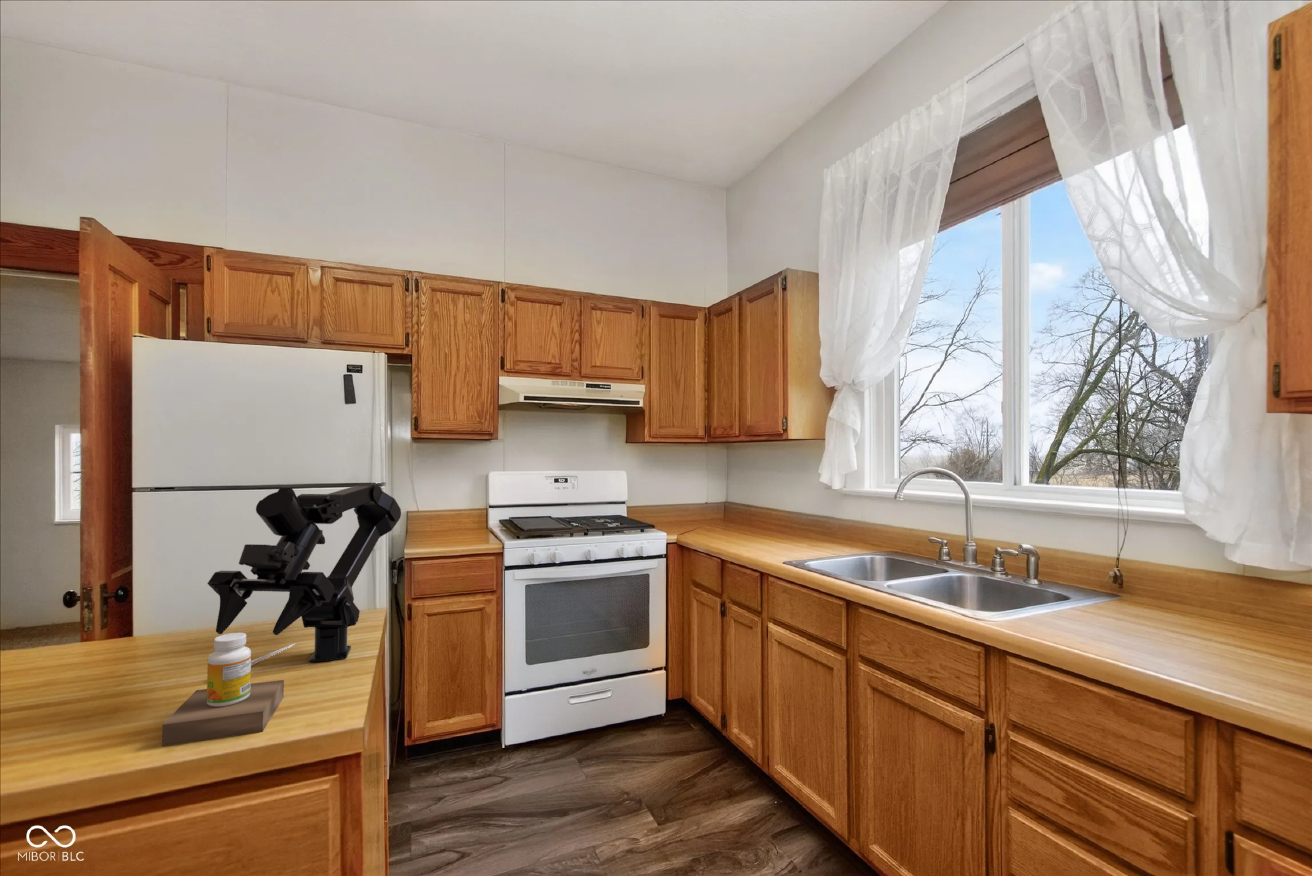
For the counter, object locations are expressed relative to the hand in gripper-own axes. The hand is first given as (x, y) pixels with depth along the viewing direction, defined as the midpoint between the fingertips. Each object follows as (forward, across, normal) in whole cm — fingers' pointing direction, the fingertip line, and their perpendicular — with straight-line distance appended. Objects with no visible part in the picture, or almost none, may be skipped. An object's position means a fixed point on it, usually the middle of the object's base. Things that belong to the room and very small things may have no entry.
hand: (246, 633), depth 90 cm
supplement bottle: (+9, 0, +4) cm, 10 cm away
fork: (-5, -12, +23) cm, 27 cm away
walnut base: (+11, 0, +6) cm, 13 cm away
